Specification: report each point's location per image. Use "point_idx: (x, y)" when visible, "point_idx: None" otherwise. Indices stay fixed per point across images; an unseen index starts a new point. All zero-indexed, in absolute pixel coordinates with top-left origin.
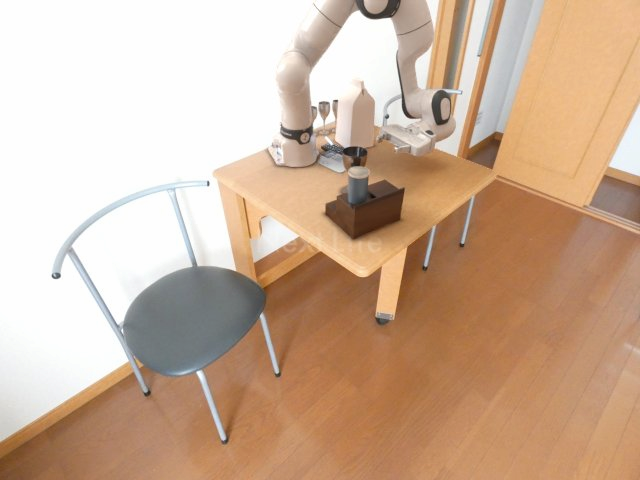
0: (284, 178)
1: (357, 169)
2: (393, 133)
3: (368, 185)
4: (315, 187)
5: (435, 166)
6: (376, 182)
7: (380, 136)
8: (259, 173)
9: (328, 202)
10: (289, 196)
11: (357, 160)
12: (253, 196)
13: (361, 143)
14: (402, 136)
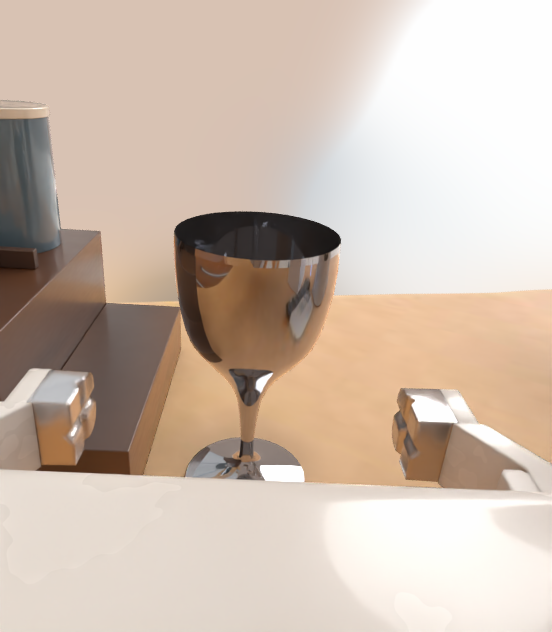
0: (485, 361)
1: (14, 105)
2: (407, 499)
3: (39, 287)
4: (371, 396)
5: None
6: (17, 310)
7: (447, 412)
8: (543, 334)
9: (177, 312)
10: (349, 333)
11: (187, 238)
12: (393, 294)
13: None
14: (181, 532)
